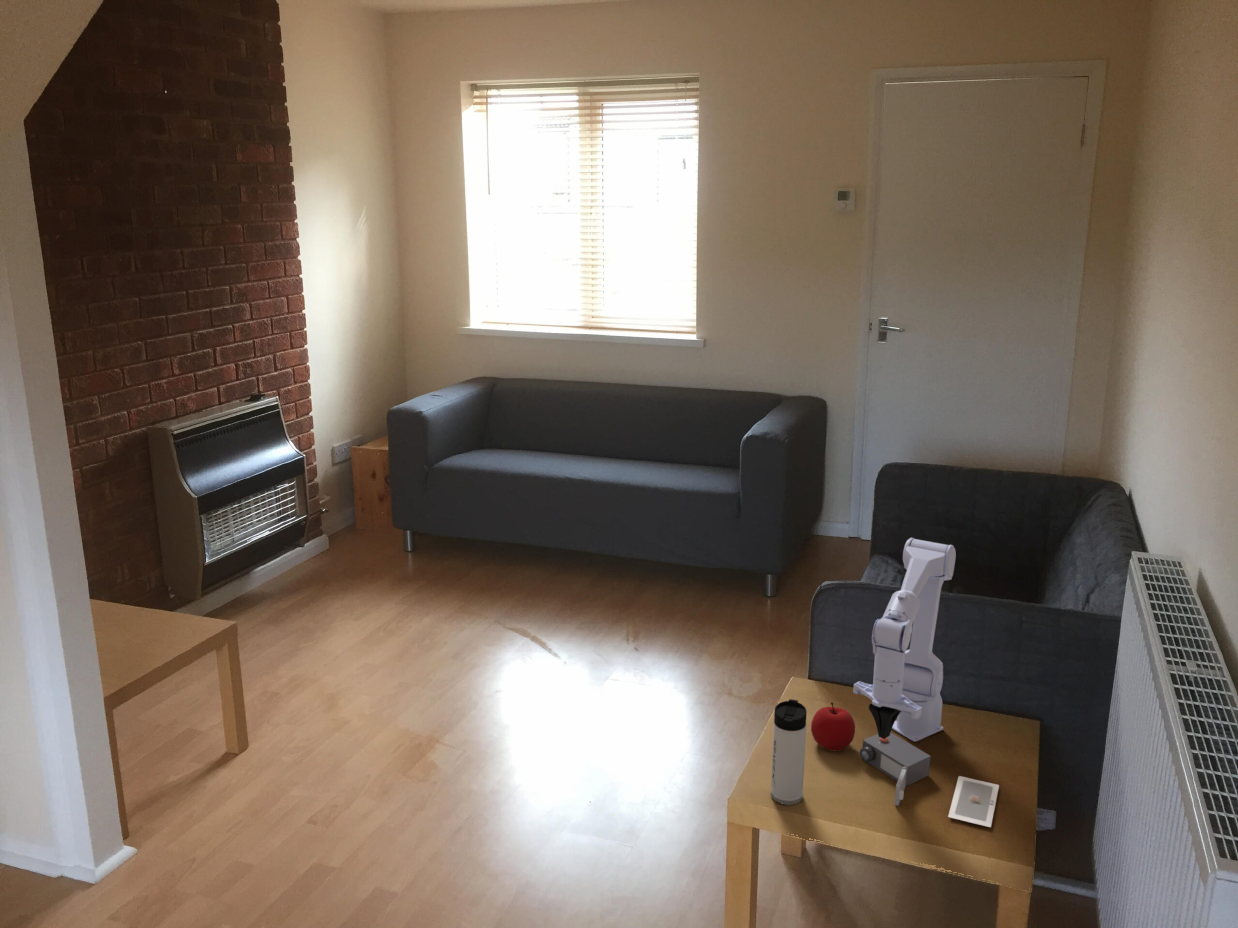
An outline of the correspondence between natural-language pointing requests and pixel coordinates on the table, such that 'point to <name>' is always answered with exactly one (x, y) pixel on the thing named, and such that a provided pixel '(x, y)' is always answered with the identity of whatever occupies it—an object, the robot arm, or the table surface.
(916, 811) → the table surface
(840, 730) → the apple
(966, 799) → the touchpad
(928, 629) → the robot arm
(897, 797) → the door
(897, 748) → the camera body
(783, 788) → the travel mug
